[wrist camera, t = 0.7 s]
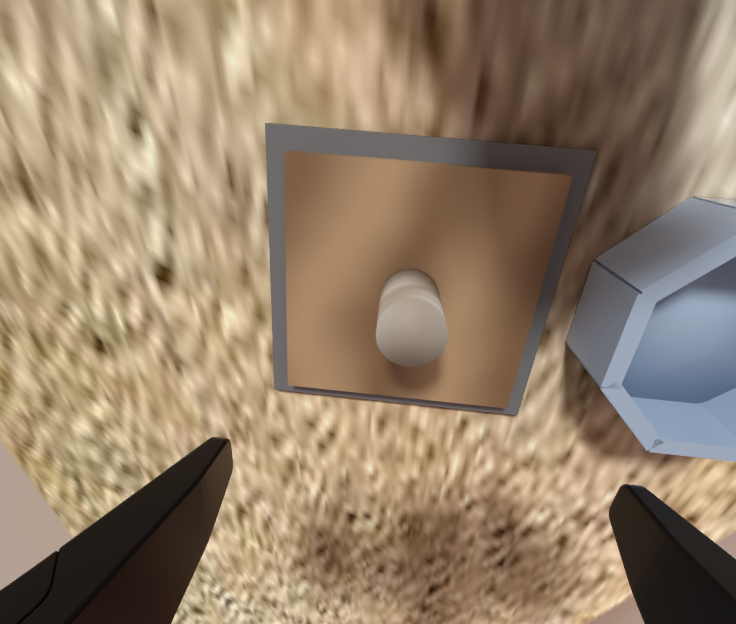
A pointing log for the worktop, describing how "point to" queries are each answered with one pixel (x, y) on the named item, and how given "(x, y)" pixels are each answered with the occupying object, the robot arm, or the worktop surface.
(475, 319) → the lid
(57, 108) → the worktop surface
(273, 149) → the mat
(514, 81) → the worktop surface
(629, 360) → the bowl
